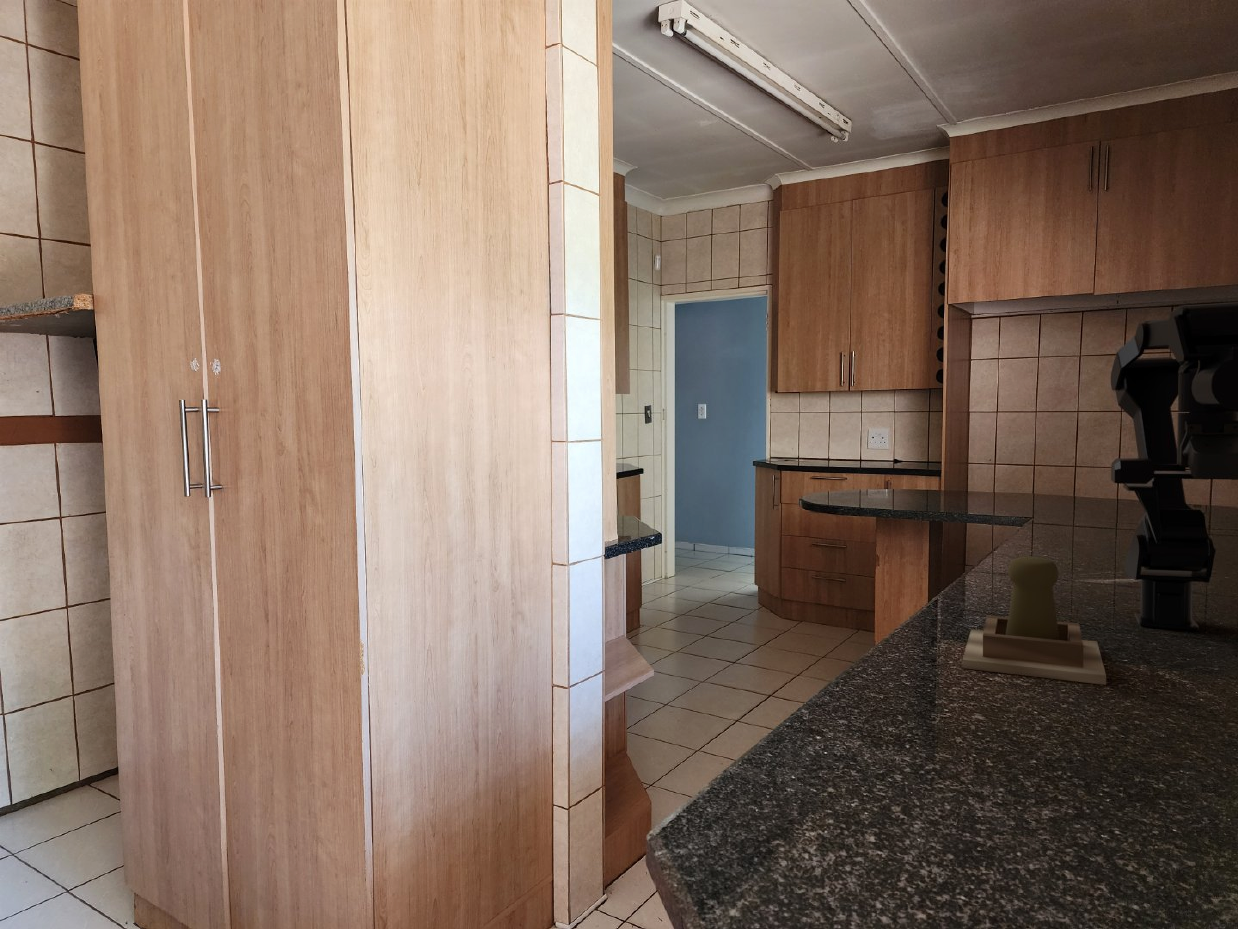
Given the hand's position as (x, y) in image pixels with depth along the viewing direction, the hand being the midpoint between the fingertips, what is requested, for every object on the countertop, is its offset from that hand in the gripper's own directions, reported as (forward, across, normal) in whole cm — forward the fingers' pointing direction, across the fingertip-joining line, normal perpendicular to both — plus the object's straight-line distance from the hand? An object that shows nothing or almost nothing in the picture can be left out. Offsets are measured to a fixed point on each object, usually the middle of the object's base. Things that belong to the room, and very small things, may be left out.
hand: (1205, 544), depth 92 cm
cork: (+12, -18, -10) cm, 24 cm away
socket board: (+13, -18, -10) cm, 24 cm away
